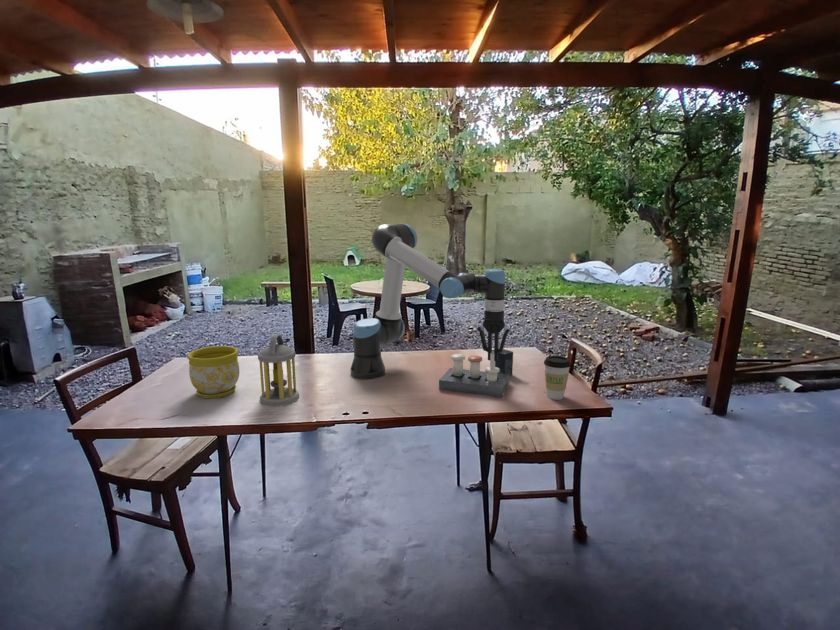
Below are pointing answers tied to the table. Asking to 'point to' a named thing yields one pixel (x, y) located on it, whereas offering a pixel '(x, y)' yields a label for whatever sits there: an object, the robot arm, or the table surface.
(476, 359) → the knob mid
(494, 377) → the knob
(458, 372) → the knob
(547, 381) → the coffee cup
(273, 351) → the lantern
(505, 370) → the box
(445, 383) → the mount
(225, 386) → the flowerpot
